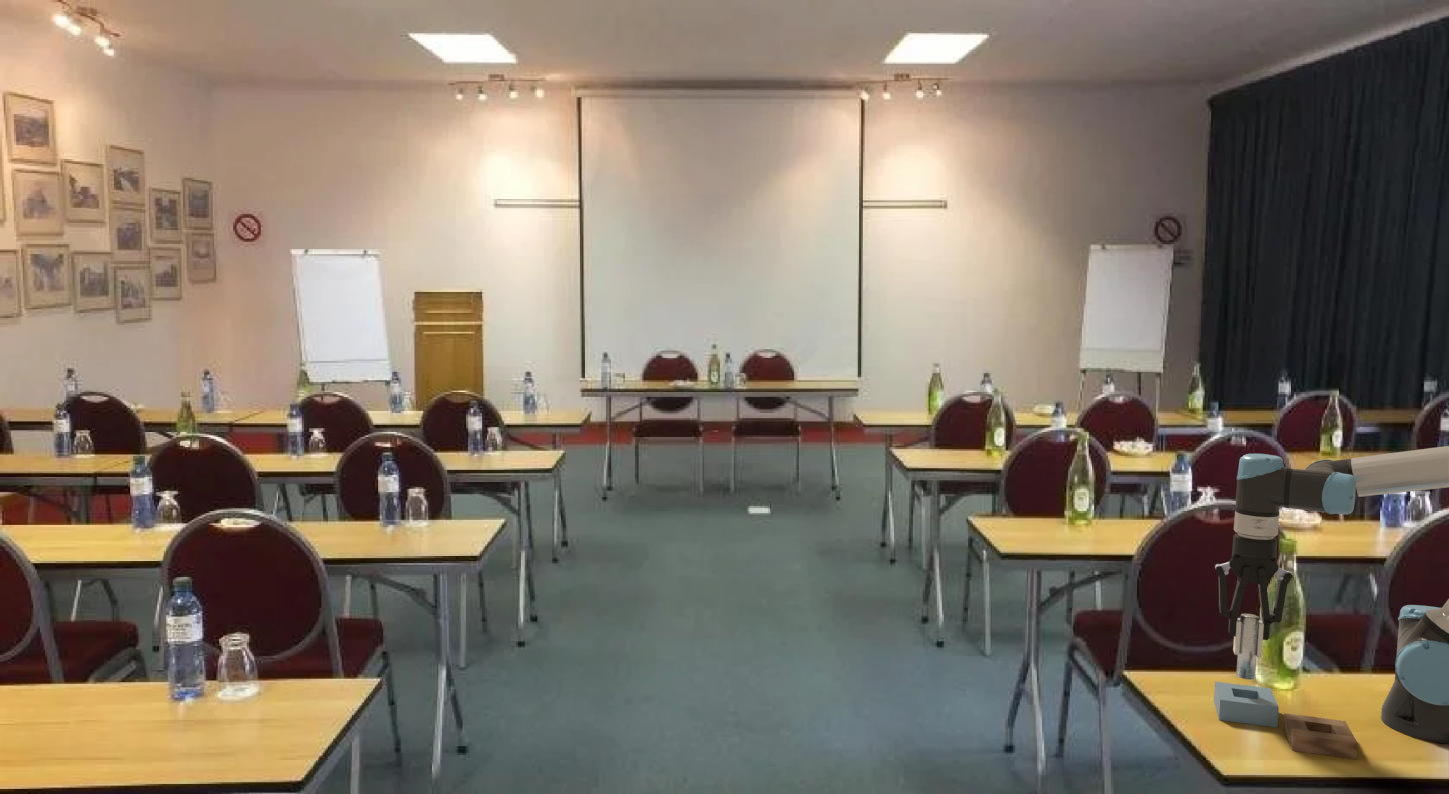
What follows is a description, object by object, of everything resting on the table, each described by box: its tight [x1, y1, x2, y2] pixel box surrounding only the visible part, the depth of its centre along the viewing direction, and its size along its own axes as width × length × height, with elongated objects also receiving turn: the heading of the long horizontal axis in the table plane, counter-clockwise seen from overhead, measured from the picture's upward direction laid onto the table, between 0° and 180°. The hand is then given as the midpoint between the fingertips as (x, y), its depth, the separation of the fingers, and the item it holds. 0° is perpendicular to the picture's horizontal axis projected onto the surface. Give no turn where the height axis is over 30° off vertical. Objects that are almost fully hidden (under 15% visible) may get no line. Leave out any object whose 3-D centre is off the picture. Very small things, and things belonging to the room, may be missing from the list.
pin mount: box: [1283, 712, 1359, 760], centre depth 188 cm, size 10×10×3 cm
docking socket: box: [1213, 681, 1280, 728], centre depth 201 cm, size 10×10×4 cm
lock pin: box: [1236, 613, 1260, 680], centre depth 200 cm, size 3×3×12 cm
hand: (1247, 653), depth 200 cm, fingers closed on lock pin, 3 cm apart
